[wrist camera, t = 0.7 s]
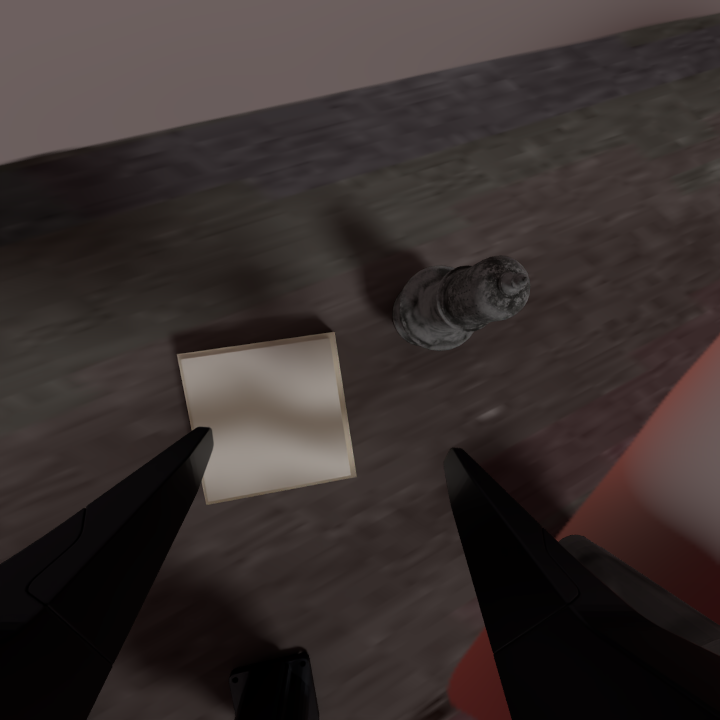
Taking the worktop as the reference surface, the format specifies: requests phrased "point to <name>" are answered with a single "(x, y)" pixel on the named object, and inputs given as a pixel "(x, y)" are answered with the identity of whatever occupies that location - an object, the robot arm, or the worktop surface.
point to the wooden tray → (269, 415)
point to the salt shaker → (459, 301)
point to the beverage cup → (645, 594)
